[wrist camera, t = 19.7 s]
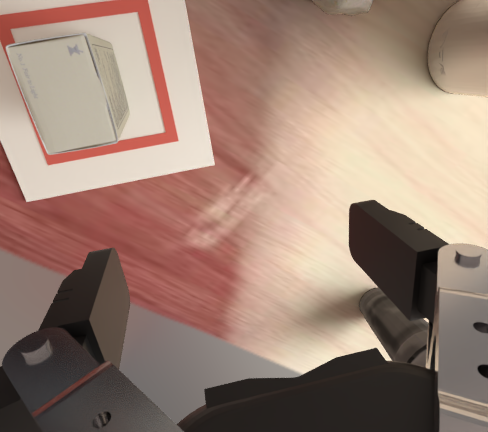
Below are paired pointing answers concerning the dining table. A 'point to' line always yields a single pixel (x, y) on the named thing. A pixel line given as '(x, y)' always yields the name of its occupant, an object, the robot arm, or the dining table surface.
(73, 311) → the robot arm
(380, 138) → the dining table surface
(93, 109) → the skincare box
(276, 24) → the dining table surface
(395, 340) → the beverage cup
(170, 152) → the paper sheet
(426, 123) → the dining table surface
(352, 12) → the ceramic sculpture
